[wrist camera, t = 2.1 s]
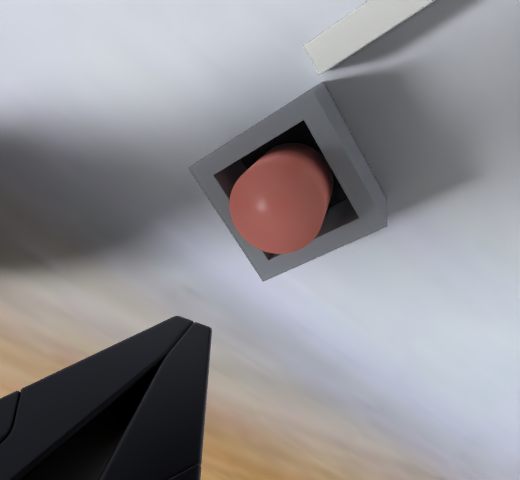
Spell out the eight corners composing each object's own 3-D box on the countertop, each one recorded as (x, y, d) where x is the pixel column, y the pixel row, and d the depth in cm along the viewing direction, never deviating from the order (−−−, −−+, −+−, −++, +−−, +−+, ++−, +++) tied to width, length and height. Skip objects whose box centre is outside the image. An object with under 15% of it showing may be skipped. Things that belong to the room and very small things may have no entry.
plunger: (279, 233, 20) (261, 267, 17) (238, 167, 19) (211, 191, 16) (348, 199, 18) (341, 230, 15) (307, 126, 18) (291, 143, 15)
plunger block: (279, 248, 22) (262, 281, 19) (216, 149, 21) (188, 167, 18) (386, 197, 20) (387, 226, 17) (323, 81, 18) (311, 88, 15)
